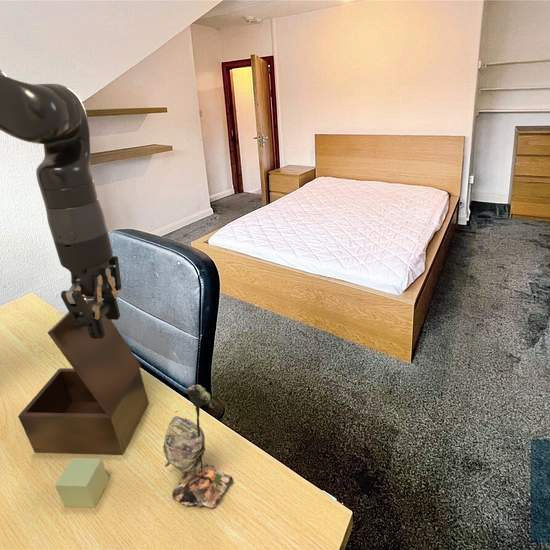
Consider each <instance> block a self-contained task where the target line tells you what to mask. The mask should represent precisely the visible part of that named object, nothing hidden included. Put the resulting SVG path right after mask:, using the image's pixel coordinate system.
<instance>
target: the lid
mask: <svg viewBox="0 0 550 550" xmlns="http://www.w3.org/2000/svg"><path fill="white" fill-rule="evenodd" d="M84 298H85V299H94V296H85V297H84ZM88 307H89V309H90V311H91V312H92V305H88ZM110 310H111V305H110V304H109V303H108V302H101V304H99V314H100V316H99V317H101V320H102V324H103V327H104V331H105V336H104V337H103V338H102V339H93V338H91V337H90V336H89V332H88V329H87V325H86V322H74V320H73V318H72V316H71V315H70V313H69V311H68V312H67V313H66V314H65V315H64V316H63V317H62V318H61V319H60V320H59V321H58V322H57V323H56V324H55V325H53V326H52V327H51V329H49V330H48V331H47V334H48V335H49V337H50V338H51V340H52V342H54V344H55V345H56V347H57V348H58V349H59V351H60V352H61V353H62V355H63V357H64V358H65V359H66V361H67V362H68V363H69V365H70V366H71V367H72V368H74V370H75V371H76V373H77V374H78V375H79V377H80V378H81V379H82V381H83V382H84V384H85V385H86V386H87V388H88V389H89V390H90V392H91V393H92V394H93V396H94V397H95V399H96V400H97V401H98V403H99V404H100V405H101V407H102V408H103V410H104V411H105V412H106V414H107V415H108V416H110V415H112V414H113V412H114V411H115V409H116V407H117V406H118V404H119V402H120V401H121V399H122V397H123V396H124V394H125V392H126V390H127V389H128V387H129V385H130V384H131V382H132V380H133V379H134V377H135V375H136V374H137V372H138V370H139V369H140V370H141V367H142V365H141V363H140V362H139V361H138V359H137V358H136V355H134V353H133V351H132V350H131V348H130V347H129V345H128V344H127V342H126V341H125V338H124V337H123V336H122V335H121V333H120V331H119V329H118V328H117V327H116V325H115V323H114V322H113V320H109V319H107V318H106V315H107V314H108V313H109V312H110ZM79 314H80V312H79Z"/></svg>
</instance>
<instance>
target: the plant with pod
mask: <svg viewBox="0 0 550 550" xmlns="http://www.w3.org/2000/svg"><path fill="white" fill-rule="evenodd" d="M185 393H186V394H187V395H188V397H189V400H190V402H191V403H192V405H193V406H194V407H195V411H196V422H194V421H192V420H190V419H188V418H184V417H181V416H178V415H175V416H174V417H172V419H171V421H170V422H169V424H168V427H167V429H166V433H165V436H164V442H163V445H162V451H163V453H164V456H165V459H166V461H167V462H165V464H164V467H165V468H167V467H169V466H170V465H171V466H172V467H174V468H175V469H177V470H180V472H181V473H184V475H183V476H182V478H181V479H180V481H179V482H178V484H177V485H176V487H175V489H173V491H172V494H171V496H172V499H173V500H175V501H177V502H180V503H181V504H182V505H185V506H188V507H190V506H195V505H197V506H198V507H202V506H205V507H207V508H210V509H211V510H212V509H213V508H215V507H216V506H218V504H219V503H220V499H222V498H223V495H224V494H225V491H228V488H229V486H231V485H232V484H234V478H233V475H229V474H226V473H225V472H224V471H222V470H221V469H220V468H218V466H215V464H208V463H207V464H205V465H203V456H204V453H205V451H206V444H205V443H206V441H205V440H206V439H205V437H206V435H205V432H204V430H203V428H201V426H200V411H201V409H200V408H201V407H203V406H204V405H205V406H206V405H207V406H208V407H209V408H210V409H214V408H215V406H214V405H212V403H211V400H212V399H211V393H209V392H208V391H206V388H205V387H203V386H202V385H201V384H192V385H190V386H189V387H187V388H186V389H185ZM178 412H179V411H178V410H176V411H175V413H178Z"/></svg>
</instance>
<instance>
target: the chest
mask: <svg viewBox="0 0 550 550" xmlns="http://www.w3.org/2000/svg"><path fill="white" fill-rule="evenodd" d="M148 405H150V404H149V399H148V395H147V391H146V387H145V384H144V380H143V376H142V372H141V368H140V369H139V370H138V372H137V374H136V375H135V377H134V379H133V380H132V382H131V384H130V385H129V387H128V389H127V390H126V392H125V394H124V396H123V397H122V399H121V401H120V402H119V404H118V406H117V407H116V409H115V411H114V412H113V414H112V415H110V416H108V415H107V414H106V412H105V411H104V410H103V408H102V407H101V405H100V404H99V403H98V401H97V400H96V399H95V397H94V396H93V394H92V393H91V392H90V390H89V389H88V388H87V386H86V385H85V384H84V382H83V381H82V379H81V378H80V377H79V375H78V374H77V373H76V371H75V370H74V368H73V367H72V368H70V367H69V368H68V367H67V368H62V367H61V368H60V367H59V368H58V369H57V371H55V372H54V374H53V375H52V376H51V377H50V379H49V380H48V381H47V382H45V384H44V385H43V386H42V388H41V389H40V390H39V391H38V393H36V395H34V397H33V398H32V399H31V401H30V402H29V403H28V404H27V405H26V406H25V407H24V408H23V410H22V411H21V412H20V413H19V414H18V415H17V416H18V419H19V422H20V423H21V426H22V428H23V431H24V433H25V435H26V437H27V439H28V442H29V444H30V446H31V448H32V449H33V452H34V453H37V454H40V453H41V454H70V455H71V454H72V455H75V454H76V455H111V456H112V455H113V456H124V453H125V452H126V449H127V448H128V446H129V444H130V441H131V440H132V438H133V435H134V434H135V431H136V429H137V428H138V425H139V424H140V421H141V420H142V417H143V415H144V414H145V412H146V409H147V408H148Z"/></svg>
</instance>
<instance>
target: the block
mask: <svg viewBox="0 0 550 550" xmlns="http://www.w3.org/2000/svg"><path fill="white" fill-rule="evenodd" d="M108 482H109V475H108V473H107V470H106V467H105V465H104V462H103V458H97V457H95V458H94V457H72V458H71V459H70V461H69V463H67V466H66V467H65V469H64V470H63V472H62V473H61V475H60V476H59V478H58V480H57V482H56V483H55V484H54V486H55V488H56V491H57V492H58V496H59V498H60V500H61V502H62V505H63V506H64V508H65V507H66V508H67V507H68V508H88V509H89V508H91V509H94V508H96V506H97V504H98V502H99V500H100V498H101V496H102V494H103V492H104V490H105V488H106V487H107V484H108Z"/></svg>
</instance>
